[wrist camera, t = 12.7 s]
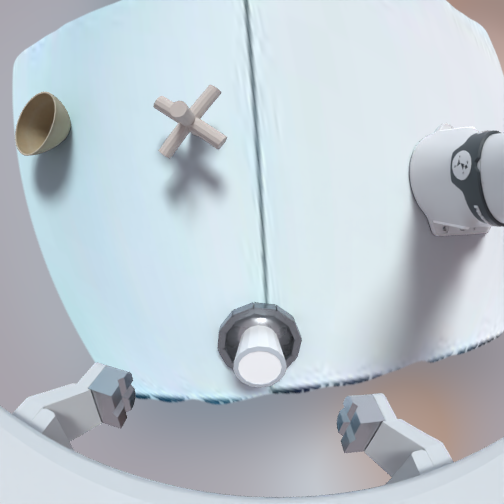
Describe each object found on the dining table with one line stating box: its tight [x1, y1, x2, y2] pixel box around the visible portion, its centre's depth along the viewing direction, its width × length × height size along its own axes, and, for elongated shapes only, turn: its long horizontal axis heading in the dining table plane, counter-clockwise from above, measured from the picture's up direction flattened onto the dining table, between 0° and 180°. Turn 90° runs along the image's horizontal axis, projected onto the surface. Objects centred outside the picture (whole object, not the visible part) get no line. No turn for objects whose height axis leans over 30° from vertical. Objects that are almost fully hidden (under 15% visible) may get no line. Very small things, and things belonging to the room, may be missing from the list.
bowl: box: [218, 302, 302, 369], centre depth 39 cm, size 12×12×2 cm
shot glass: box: [233, 325, 287, 388], centre depth 36 cm, size 7×7×7 cm
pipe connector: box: [154, 85, 227, 158], centre depth 29 cm, size 10×10×10 cm
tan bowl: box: [15, 92, 71, 156], centre depth 29 cm, size 10×10×7 cm
